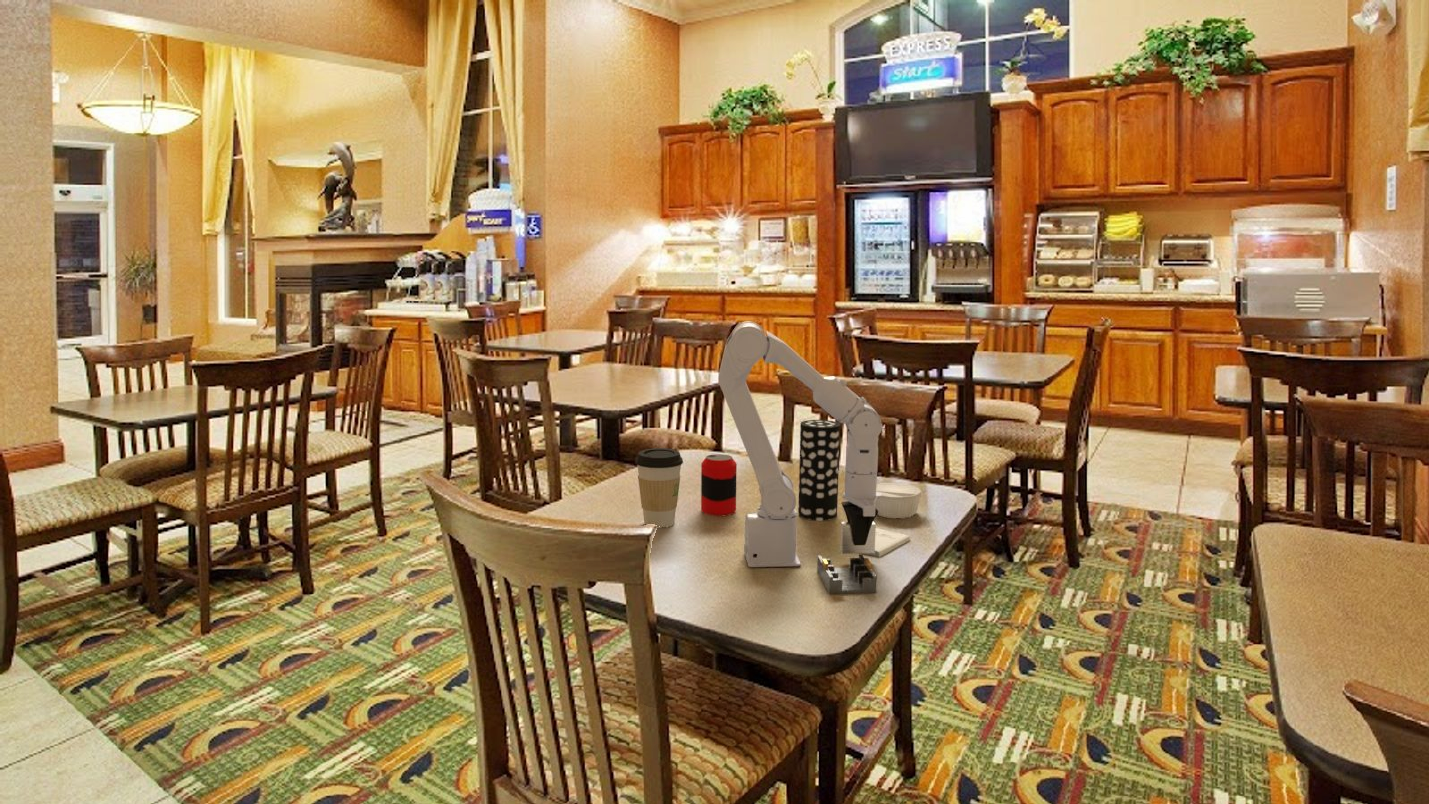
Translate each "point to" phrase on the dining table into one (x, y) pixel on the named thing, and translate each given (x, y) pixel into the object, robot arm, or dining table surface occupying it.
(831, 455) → the spotted tube
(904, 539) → the external hard drive
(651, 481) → the coffee cup
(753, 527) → the robot arm
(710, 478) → the soda can
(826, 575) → the rack
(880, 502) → the ramekin
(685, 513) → the dining table surface
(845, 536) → the grey flat square block
